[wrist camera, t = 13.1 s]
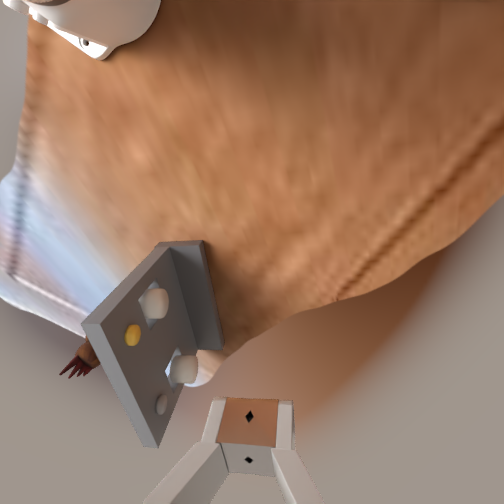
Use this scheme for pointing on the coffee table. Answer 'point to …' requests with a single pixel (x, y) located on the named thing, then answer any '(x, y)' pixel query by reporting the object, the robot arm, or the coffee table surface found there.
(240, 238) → the coffee table surface
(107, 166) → the coffee table surface
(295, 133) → the coffee table surface
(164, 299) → the beige rounded lump
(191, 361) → the unlit button
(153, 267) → the control panel
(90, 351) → the wooden figurine
